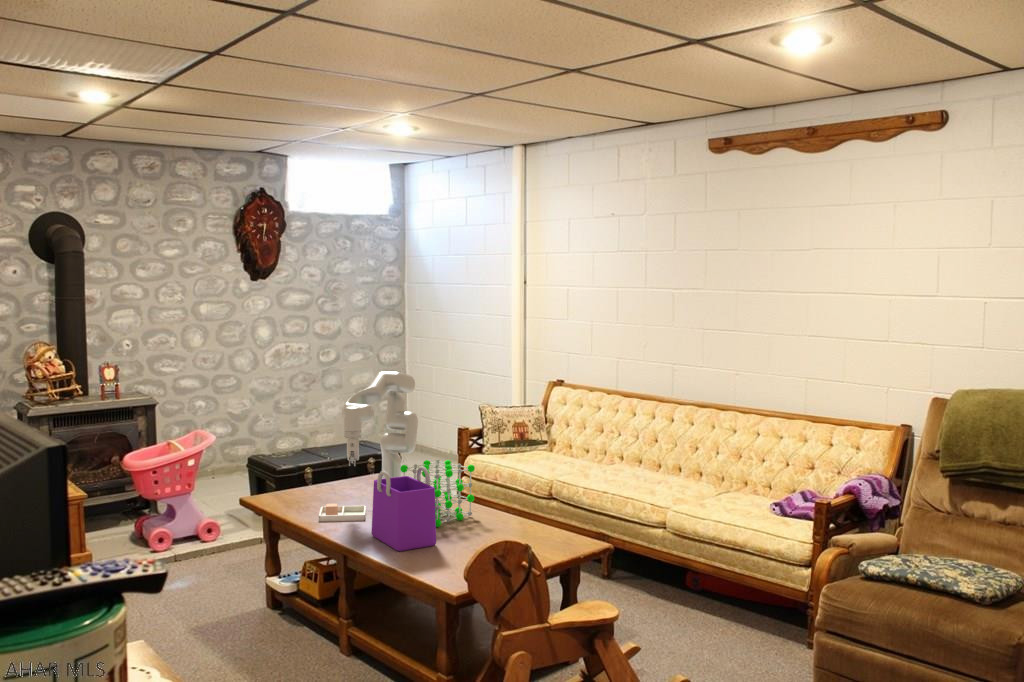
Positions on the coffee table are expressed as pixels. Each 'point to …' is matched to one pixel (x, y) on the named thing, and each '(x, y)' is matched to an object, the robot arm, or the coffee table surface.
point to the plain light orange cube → (331, 509)
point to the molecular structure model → (448, 491)
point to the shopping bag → (404, 511)
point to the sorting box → (344, 514)
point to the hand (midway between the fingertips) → (352, 472)
